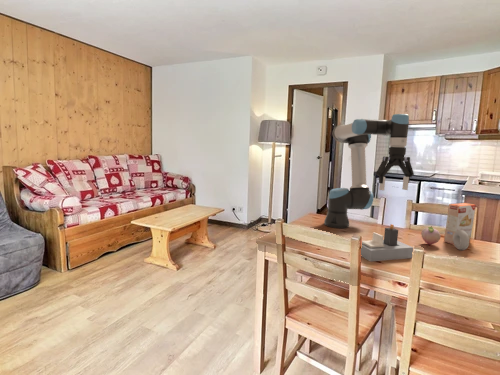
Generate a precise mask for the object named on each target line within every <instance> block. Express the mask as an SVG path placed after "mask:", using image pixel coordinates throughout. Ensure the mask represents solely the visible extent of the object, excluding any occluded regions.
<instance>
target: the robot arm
mask: <svg viewBox="0 0 500 375" xmlns="http://www.w3.org/2000/svg"><path fill="white" fill-rule="evenodd" d="M409 125H410V115H409V114H407V113H396V114H392V115H391V119H369V118H368V119H365V118H356V119H354V120H353V122H352V123H348V124H340V125H339V124H338V125H336V126H335V127H334V128H333V130H332V134H331V135H332V137H333V139H334V141H336V142H338V143H341V144H342V143H343V144H348V145H347V146H348V148H349V149H350V161H351V162H350V163H351V186H350V187H349V188H345V187H337V188H332V189H330V190H329V194H328V203H327V204H328V207H327V213H326V216H325V219H324V221H323V222H324V223H323V225H324V226H327V227H328V228H334V229H347V228H349V227H350V221H349V217H348V210H363V211H364V210H368V209H370V208H371V207H372V205H373V202H374V192H372V190H370V187H369V186H368V185H367V165H366V164H367V163H366V162H367V161H366V160H367V159H366V148H367V147H368V144H370V142H371V140H372V135H374V136H375V135H376V136H377V135H378V136H379V135H381V136H389V142H388V146H390V147H388V156H384V155H383V157H382V160H381V163H380V165H379V167H378V168H377V171H376V172H375V176H378V183H379V188H378V190H379V191H385V186H386V174H387V173H388V172H389V171H390V170H391V168H392V167H399V168H400V170H401V171H402V173H403V175H404V176H403V180H402V190H404V191H408V190H409V189H408V188H409V184H410V178H412V177H413V176H414V175H415V173H414V169H413V167H412V163H411V157H410V156H405V155H406V154H407V153H406V152H407V148H406V147H407V144H408V142H407V141H408V135H409V134H408V132H409Z"/></svg>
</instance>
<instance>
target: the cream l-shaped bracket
mask: <svg viewBox="0 0 500 375" xmlns="http://www.w3.org/2000/svg"><path fill="white" fill-rule="evenodd" d="M383 240H384V235H382V234H379V233H377V232H374V231H373V232H372V239H371V240H361V241H362V243H363V244H365V245H367V246H368V247H370V248H373V247H384V245H383Z"/></svg>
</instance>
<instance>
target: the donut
mask: <svg viewBox="0 0 500 375" xmlns="http://www.w3.org/2000/svg"><path fill="white" fill-rule="evenodd" d="M453 243H454V247H455V248H456V249H458V250H459V251H466V250H467V249H468V247H469V246H470V242H469V237H468V235H467V233H466V232H465V231H463V230H458V231H456V232H455V233H454V235H453Z"/></svg>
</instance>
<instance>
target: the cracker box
mask: <svg viewBox="0 0 500 375" xmlns="http://www.w3.org/2000/svg"><path fill="white" fill-rule="evenodd" d="M476 207H477V205H476V204H473V203H468V202H461V203H449V204H448V209H447V216H446V223H445V229H444V230H445V231H444V238H443V242H444V243H447V244H449V245H454V243H453V235H454V233H455V232H456V231H458V230H463V231H465V232H466V233H467V235H468V237H469V243H470V242H471V240H472V239H471V237H472V232H473V225H474V219H475V213H476ZM454 246H455V245H454Z"/></svg>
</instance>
